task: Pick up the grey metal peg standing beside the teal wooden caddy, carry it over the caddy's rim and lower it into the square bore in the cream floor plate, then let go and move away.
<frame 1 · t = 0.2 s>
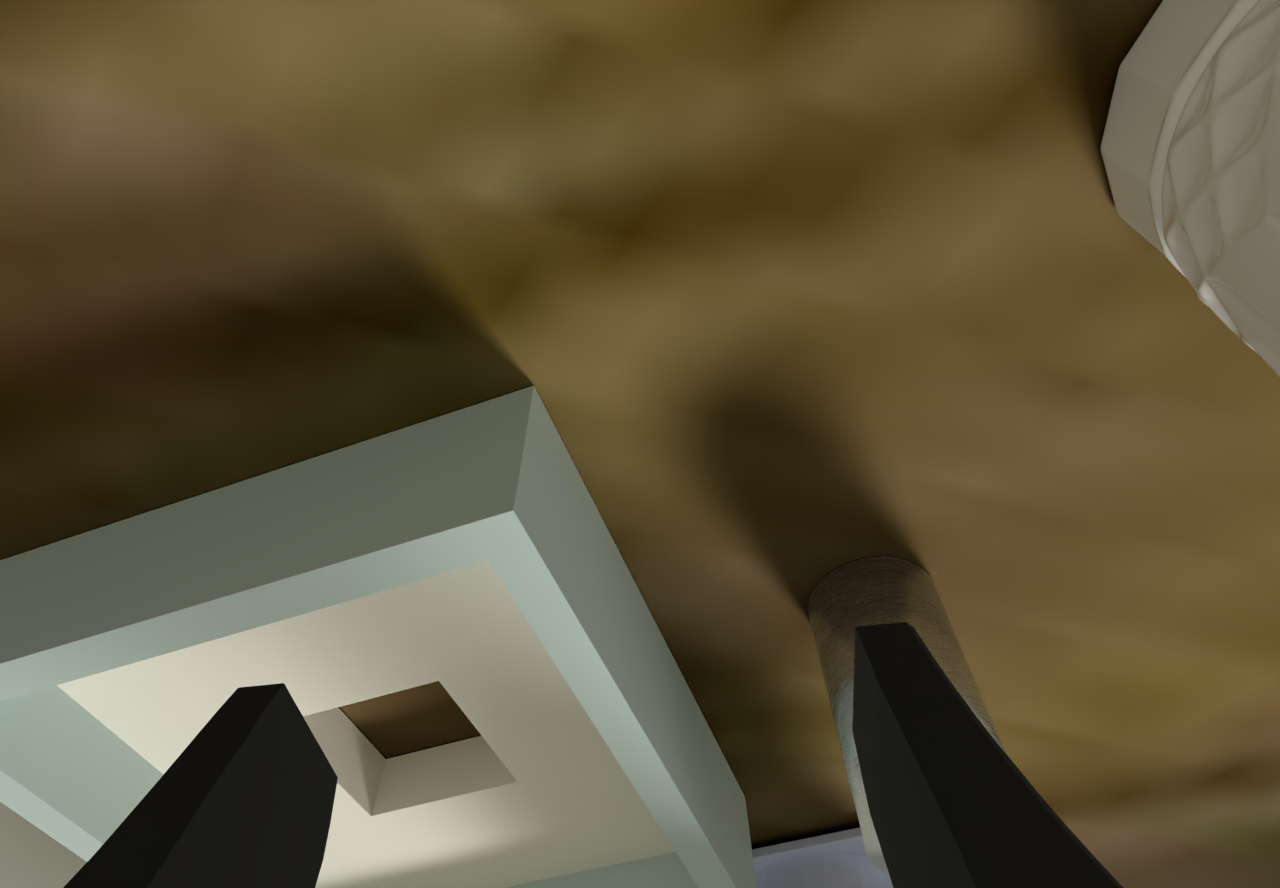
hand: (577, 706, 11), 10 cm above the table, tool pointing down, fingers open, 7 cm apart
white cup: (1274, 88, 16), on the table
caddy: (416, 696, 26), on the table
peg: (871, 602, 24), on the table
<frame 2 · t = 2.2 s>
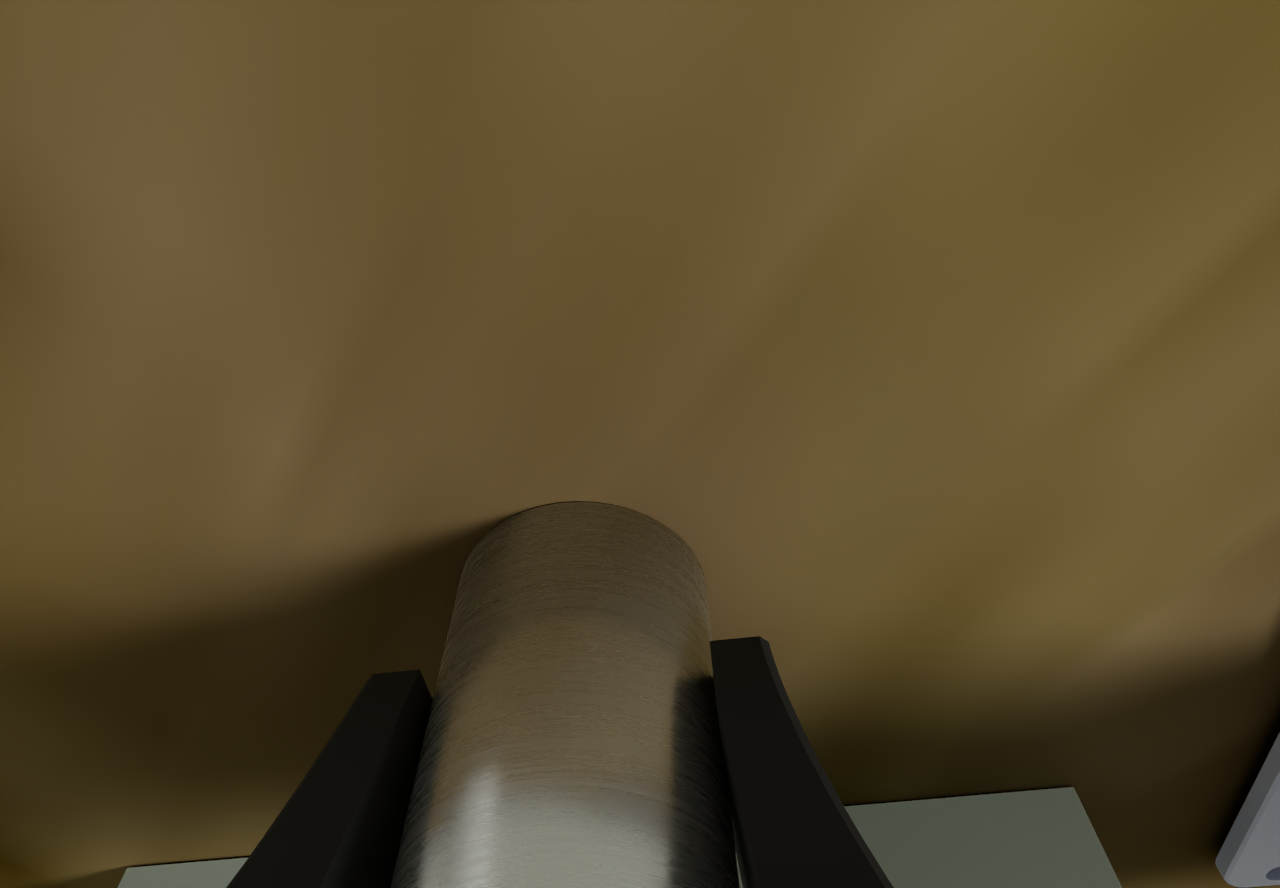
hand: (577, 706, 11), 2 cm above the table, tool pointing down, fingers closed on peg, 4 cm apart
peg: (583, 597, 12), on the table, touching gripper
when the fingers open (3 cm above the table, at t = 5.5 s): peg stays where it is, resting in caddy.
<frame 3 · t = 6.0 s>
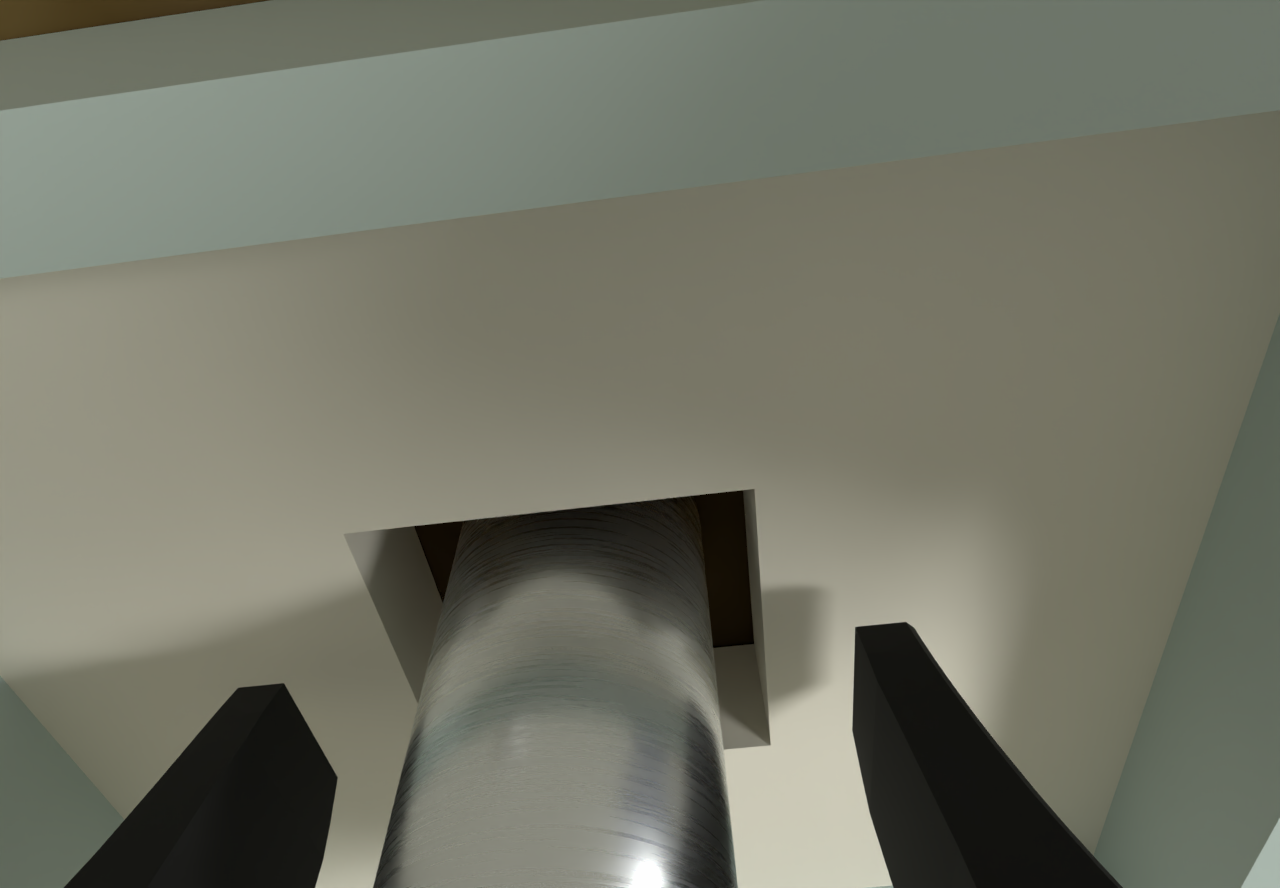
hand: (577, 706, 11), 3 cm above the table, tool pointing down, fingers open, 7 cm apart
caddy: (586, 551, 13), on the table
peg: (583, 532, 13), resting in caddy
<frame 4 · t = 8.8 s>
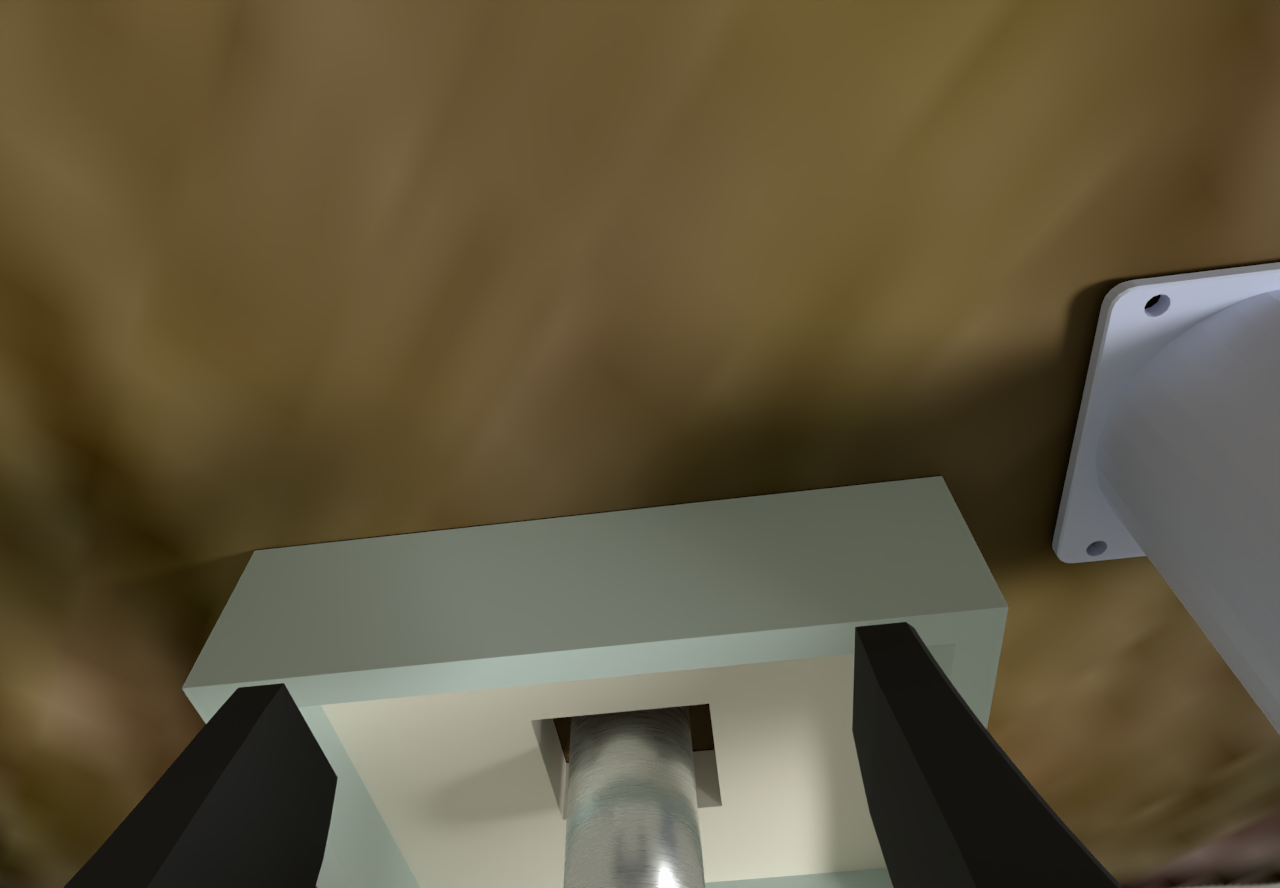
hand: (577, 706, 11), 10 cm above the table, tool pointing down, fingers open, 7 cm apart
caddy: (630, 708, 26), on the table
peg: (629, 700, 26), resting in caddy
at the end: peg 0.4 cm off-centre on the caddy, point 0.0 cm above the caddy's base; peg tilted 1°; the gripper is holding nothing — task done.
